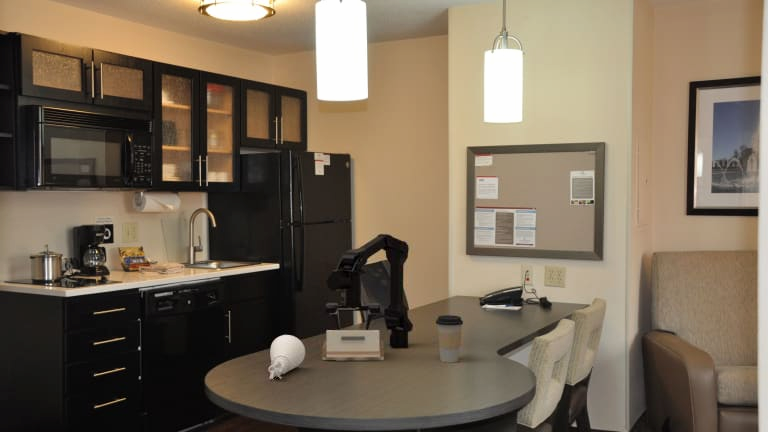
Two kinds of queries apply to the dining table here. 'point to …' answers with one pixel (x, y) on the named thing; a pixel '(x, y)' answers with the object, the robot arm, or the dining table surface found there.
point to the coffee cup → (449, 337)
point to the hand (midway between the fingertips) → (352, 333)
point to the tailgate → (352, 343)
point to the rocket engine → (285, 355)
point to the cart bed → (381, 357)
